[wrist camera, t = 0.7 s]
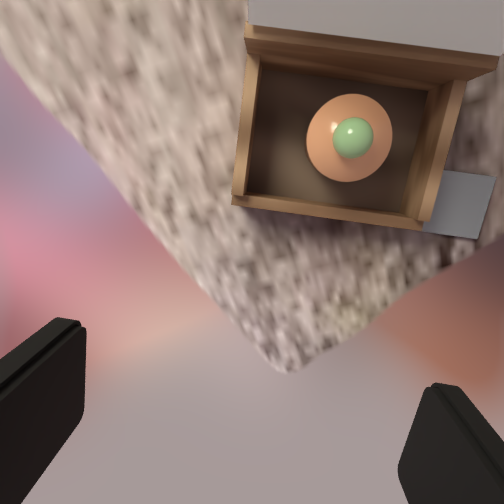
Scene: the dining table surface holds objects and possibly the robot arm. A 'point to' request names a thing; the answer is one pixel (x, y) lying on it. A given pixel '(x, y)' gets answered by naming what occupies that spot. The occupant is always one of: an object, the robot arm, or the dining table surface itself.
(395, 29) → the lid
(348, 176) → the terracotta pot
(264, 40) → the open wooden box
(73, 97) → the dining table surface
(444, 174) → the slate tile
